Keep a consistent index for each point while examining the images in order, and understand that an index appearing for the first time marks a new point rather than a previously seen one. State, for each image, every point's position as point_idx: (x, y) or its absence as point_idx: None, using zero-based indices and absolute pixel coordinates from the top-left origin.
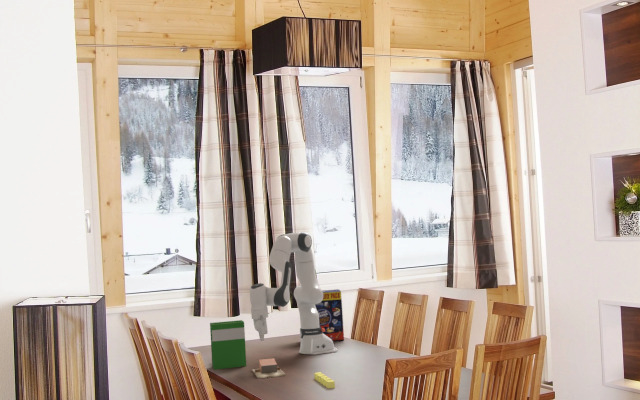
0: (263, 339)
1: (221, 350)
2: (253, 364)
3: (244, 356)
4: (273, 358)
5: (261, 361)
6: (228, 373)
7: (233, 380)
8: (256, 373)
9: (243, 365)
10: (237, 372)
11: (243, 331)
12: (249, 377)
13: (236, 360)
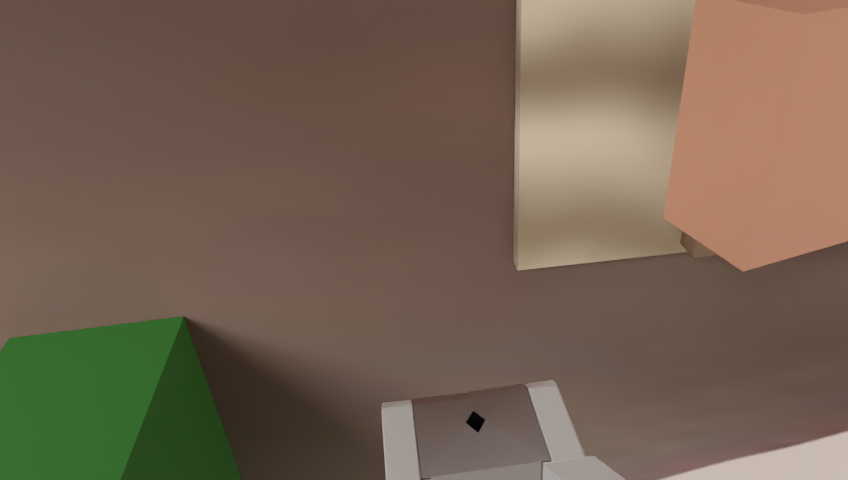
0: (559, 409)
1: None
2: (92, 238)
3: (156, 420)
4: (806, 29)
5: (808, 230)
6: None
7: (838, 408)
8: None
9: (190, 351)
10: None
11: None
12: (826, 289)
13: (198, 464)
